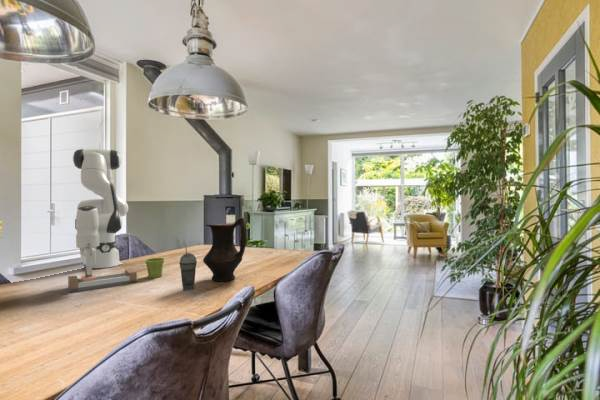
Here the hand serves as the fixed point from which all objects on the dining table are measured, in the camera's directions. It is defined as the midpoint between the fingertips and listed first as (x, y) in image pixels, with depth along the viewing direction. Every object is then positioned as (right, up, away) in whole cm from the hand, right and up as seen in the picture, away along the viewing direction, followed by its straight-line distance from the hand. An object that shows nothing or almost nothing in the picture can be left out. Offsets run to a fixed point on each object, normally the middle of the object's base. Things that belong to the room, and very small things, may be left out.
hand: (88, 273), depth 153 cm
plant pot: (+22, -6, +19) cm, 29 cm away
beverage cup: (+46, -6, -5) cm, 47 cm away
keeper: (0, -4, 0) cm, 4 cm away
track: (+5, -6, +3) cm, 8 cm away
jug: (+58, -6, +12) cm, 60 cm away
